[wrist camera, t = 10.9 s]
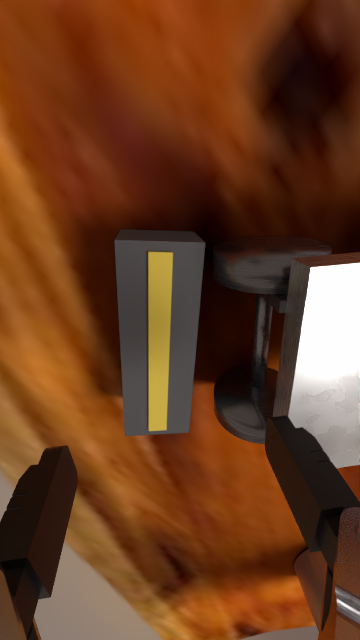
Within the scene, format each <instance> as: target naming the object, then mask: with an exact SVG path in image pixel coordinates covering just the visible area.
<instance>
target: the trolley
mask: <svg viewBox="0 0 360 640" xmlns="http://www.w3.org/2000/svg"><path fill="white" fill-rule="evenodd" d="M331 253H332V246H331V245H330V244H328V243H326V242H323V241H320V240H316V239H310V238H303V237H292V236H254V237H243V238H236V239H230V240H226V241H223V242H220V243H217V244H216V245H214V246H213V278H214V280H215V281H216V282H217V283H219V284H220V285H222V286H225V287H227V288H230V289H234V290H238V291H243V292H249V293H256V307H255V322H254V337H253V352H252V366H241V367H237V368H233V369H230V370H228V371H226V372H225V373H223V374H222V375H221V376H220V377H219V378H218V379H217V381H216V383H215V386H214V411H215V415H216V417H217V419H218V421H219V422H220V424H221V425H222V426H223V427H224V428H225V429H226V430H227V431H228V432H230V433H231V434H233V435H234V436H236V437H238V438H240V439H243V440H246V441H249V442H253V443H260V444H265V435H266V424H267V419H268V418H270V417H277V416H284V415H286V416H288V417H289V419H290V420H291V422H292V423H293V425H294V426H295V428H300V427H303V428H304V429H306V430H307V431H308V432H309V433H311V434H312V435H313V436H314V437H315V438H316V439H317V441H318V442H319V444H320V445H321V447H322V448H323V451H324V452H325V453H326V454H327V455H328V457H329V458H330V461H331V462H332V463H333V464H334V466H335V467H336V468H340V467H347V466H353V465H360V252H355V253H344V254H333V255H331ZM273 308H274V309H275V310H276V311H277V312H278V313H285V319H284V327H283V336H282V344H281V352H280V361H279V369H278V371H276V370H274V369H270V368H267V365H268V355H269V344H270V334H271V324H272V314H273Z"/></svg>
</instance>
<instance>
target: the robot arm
mask: <svg viewBox="0 0 360 640" xmlns="http://www.w3.org/2000/svg"><path fill="white" fill-rule="evenodd" d="M265 450H266V455H267V458H268V460H269V463H270V465H271V467H272V469H273V471H274V474H275V476H276V478H277V480H278V482H279V485H280V487H281V489H282V491H283V493H284V496H285V498H286V500H287V502H288V505H289V507H290V509H291V511H292V513H293V516H294V518H295V520H296V522H297V524H298V527H299V529H300V531H301V533H302V535H303V538H304V540H305V542H306V544H307V546H308V549H307V550H306V551H304V552H303V553H302V554H300V555H299V557H298V558H297V559H296V561H295V563H294V569H295V571H296V574H297V577H298V579H299V582H300V584H301V587H302V589H303V592H304V595H305V597H306V600H307V602H308V605H309V608H310V610H311V613H312V615H313V618H314V621H315V623H316V626H317V628H318V631H319V636H318V640H360V502H359V501H358V499H357V498H356V496H355V495H354V493H353V492H352V490H351V489H350V488H349V486H348V485H347V483H346V482H345V480H344V479H343V477H342V476H341V474H340V473H339V471H338V470H337V469H336V467H335V466H334V464H333V463H332V462H331V461H330V458H329V457H328V455H327V454H326V453H325V452H324V451H323V448H322V447H321V445H320V444H319V442H318V441H317V439H316V438H315V437H314V436H313V435H312V434H311V433H309V432H308V431H307V430H306V429H304V428H303V427H300V428H295V426H294V425H293V423H292V422H291V420H290V419H289V417H288V416H286V415H284V416H277V417H270V418H268V419H267V424H266V435H265ZM76 488H77V470H76V467H75V465H74V462H73V459H72V456H71V453H70V450H69V448H68V446H66V445H65V446H58V447H51V448H46V449H45V450H44V452H43V454H42V456H41V459H40V461H39V464H38V465H31V466H30V467H29V468H28V469H27V471H26V472H25V473H24V474H23V475H22V477H21V478H20V479H19V481H18V483H17V485H16V488H15V490H14V492H13V495H12V498H11V499H10V501H9V504H8V506H7V510H6V511H5V513H4V515H3V517H2V519H1V522H0V640H41V637H40V634H39V631H38V628H37V625H36V622H35V619H34V614H35V610H36V606H37V602H38V599H42V598H49V597H51V594H52V589H53V585H54V581H55V577H56V572H57V568H58V564H59V559H60V556H61V552H62V547H63V543H64V539H65V535H66V530H67V526H68V522H69V518H70V514H71V509H72V505H73V501H74V497H75V492H76Z"/></svg>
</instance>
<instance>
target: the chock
mask: <svg viewBox="0 0 360 640" xmlns="http://www.w3.org/2000/svg"><path fill="white" fill-rule="evenodd" d="M114 241H115V259H116V278H117V296H118V315H119V333H120V352H121V370H122V389H123V407H124V426H125V436H135V435H153V434H170V433H188V432H189V426H190V415H191V403H192V391H193V380H194V368H195V357H196V345H197V334H198V322H199V311H200V299H201V287H202V276H203V264H204V253H205V242H204V241H203V240H202V239H201V238H200V237H199V236H198V235H197V234H196V233H195V232H192V231H164V230H135V229H120V231H119V233H118V235H117V236H116V238H115V240H114Z"/></svg>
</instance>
